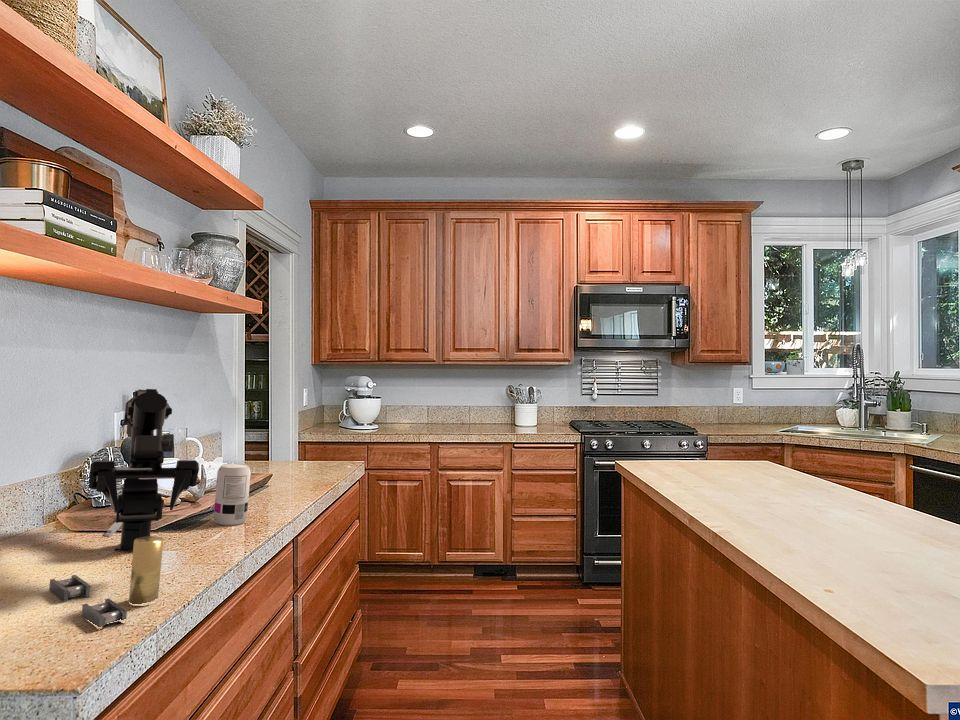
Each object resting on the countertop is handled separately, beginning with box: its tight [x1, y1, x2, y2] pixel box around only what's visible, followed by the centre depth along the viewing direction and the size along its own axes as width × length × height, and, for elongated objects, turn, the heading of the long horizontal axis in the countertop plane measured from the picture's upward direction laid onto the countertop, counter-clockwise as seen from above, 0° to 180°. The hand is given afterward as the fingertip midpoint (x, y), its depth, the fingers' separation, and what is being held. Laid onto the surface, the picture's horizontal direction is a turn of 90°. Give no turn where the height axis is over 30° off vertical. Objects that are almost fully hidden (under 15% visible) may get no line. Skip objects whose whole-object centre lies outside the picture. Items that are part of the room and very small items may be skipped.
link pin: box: [128, 535, 164, 604], centre depth 108 cm, size 5×5×11 cm
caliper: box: [104, 521, 122, 537], centre depth 152 cm, size 20×1×6 cm, turn 10°
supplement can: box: [213, 462, 252, 526], centre depth 162 cm, size 8×8×15 cm
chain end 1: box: [48, 574, 91, 603], centre depth 109 cm, size 7×4×2 cm, turn 52°
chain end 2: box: [81, 598, 128, 627], centre depth 100 cm, size 7×4×2 cm, turn 52°
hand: (144, 510), depth 115 cm, fingers open, 9 cm apart
